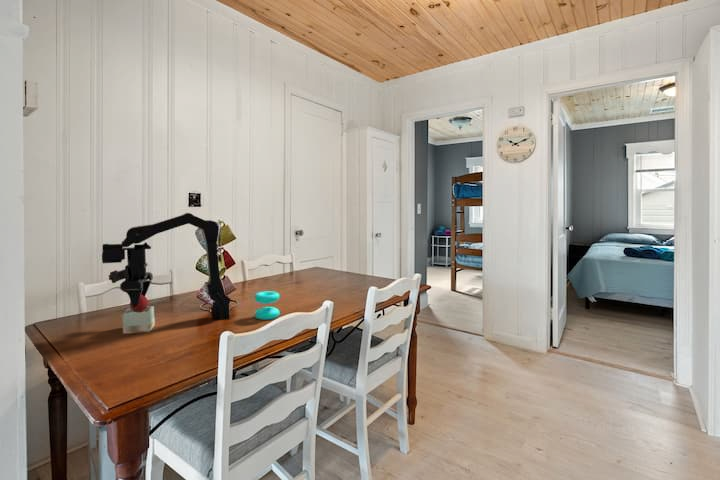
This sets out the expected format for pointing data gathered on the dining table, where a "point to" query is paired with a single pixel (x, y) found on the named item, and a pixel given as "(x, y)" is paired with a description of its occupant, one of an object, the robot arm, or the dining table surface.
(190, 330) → the dining table surface
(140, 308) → the onion
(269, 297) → the donuts
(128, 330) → the base block
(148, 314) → the pale green open box
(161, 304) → the dining table surface
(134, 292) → the robot arm
